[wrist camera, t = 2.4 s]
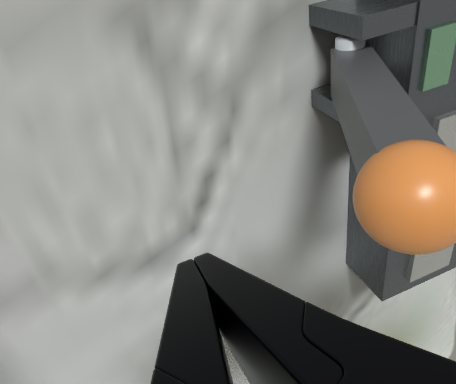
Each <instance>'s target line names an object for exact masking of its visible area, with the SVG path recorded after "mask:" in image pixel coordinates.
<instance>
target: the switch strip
mask: <svg viewBox="0 0 456 384" xmlns="http://www.w3.org/2000/svg"><path fill="white" fill-rule="evenodd" d="M309 17H310V26H314V27H317V28H320V29H324V30H327V31H331V32H334V33H337V34H341V35H344V36H348V37H351V38H354V39H358V40H361V41H363V40H366V43H365V44H370V45H371V46H372V48H373V49H374V50H375V52H376V53H377V54H378V56H379V57H380V58H381V60H382V61H383V62H384V64H385V65H386V66H387V68H388V69H389V70H390V72H391V73H392V74H393V76H394V77H395V78H396V80H397V81H398V82H399V84H400V85H401V86H402V88H403V89H404V90H405V92H406V93H407V94H408V96H409V97H410V98H411V100H412V101H413V102H414V104H415V105H416V106H417V108H418V109H419V110H420V112H421V113H422V114H423V115H424V117H425V118H426V119H427V121H428V122H429V123H430V125H431V126H432V127H433V129H434V130H435V131H436V133H437V134H438V135H439V137H440V138H441V139H442V141H443V142H444V143H445V145H446V146H447V147H449V148H451V149H452V150H454V151H455V152H456V0H327V1H323V2H319V3H315V4H311V5H309ZM311 91H312V106H313V107H315V108H317V109H318V110H320V111H321V112H323V113H325V114H326V115H328V116H330V117H331V118H333V119H335V120H336V121H338V122H339V119H338V116H337V113H336V110H335V107H334V104H333V101H332V98H331V84H329V85H325V86H322V87H319V88H316V89H313V90H311ZM356 177H357V173H356V170H355V167H354V164H353V161H352V158H351V155H350V178H349V204H348V230H347V256H346V263H347V264H348V265H349V266H350V268H351V269H352V270H353V271H354V272H355V273H356V274H357V275H358V276H359V277H360V278H361V279H362V280H363V281H364V283H365V284H366V285H367V286H368V287H369V288H370V289H371V290H372V291H373V292H374V293H375V294H376V295H377V297H378V298H379V299H380V300H381V301H384V300H386V299H388V298H390V297H393V296H395V295H397V294H399V293H401V292H403V291H406V290H408V289H410V288H412V287H414V286H416V285H418V284H421V283H423V282H425V281H427V280H429V279H431V278H434V277H436V276H438V275H440V274H442V273H444V272H447V271H449V270H451V269H453V268H455V267H456V243H455V244H454V245H452V246H450V247H448V248H446V249H444V250H441V251H438V252H435V253H430V254H423V255H411V254H404V253H399V252H396V251H393V250H391V249H388V248H386V247H384V246H382V245H381V244H379V243H378V242H376V241H375V240H374V239H372V238H371V237H370V236H369V235H368V234H367V233H366V232H365V230H364V229H363V227H362V226H361V224H360V223H359V221H358V219H357V216H356V214H355V211H354V206H353V187H354V184H355V180H356Z"/></svg>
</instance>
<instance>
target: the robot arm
mask: <svg viewBox="0 0 456 384" xmlns="http://www.w3.org/2000/svg"><path fill="white" fill-rule="evenodd" d="M220 332H221V334H222V336H223V338H224V340H225V342H226V343H227V345H228V347H229V348H230V350H231V352H232V354H233V355H234V357H235V359H236V360H237V362H238V364H239V366H240V367H241V369H242V371H243V372H244V374H245V376H246V377H247V379H248V381H249V383H250V384H456V362H455V361H452V360H450V359H447V358H445V357H442V356H439V355H437V354H434V353H431V352H429V351H426V350H423V349H421V348H418V347H415V346H413V345H410V344H407V343H405V342H402V341H399V340H397V339H394V338H391V337H389V336H386V335H383V334H381V333H378V332H375V331H373V330H370V329H367V328H365V327H362V326H360V325H357V324H355V323H352V322H350V321H347V320H345V319H342V318H340V317H338V316H336V315H333V314H331V313H329V312H327V311H325V310H323V309H321V308H318V307H317V306H315V305H313V304H311V303H309V302H306V303H305V301H303V300H301V299H299V298H297V297H295V296H294V295H292V294H290V293H288V292H286V291H284V290H282V289H280V288H278V287H276V286H274V285H272V284H270V283H268V282H266V281H264V280H262V279H260V278H258V277H256V276H254V275H252V274H250V273H248V272H246V271H244V270H242V269H240V268H238V267H236V266H234V265H232V264H230V263H228V262H226V261H224V260H222V259H220V258H218V257H216V256H214V255H212V254H210V253H205V254H202V255H200V256H197V257H195V258H194V260H192V259H189V260H187V261H184V262H182V263H179V264H178V265H177V269H176V273H175V278H174V282H173V287H172V291H171V296H170V300H169V305H168V309H167V314H166V318H165V323H164V327H163V332H162V337H161V341H160V346H159V350H158V355H157V359H156V364H155V369H154V371H153V375H152V380H151V384H233V380H232V376H231V372H230V368H229V364H228V360H227V356H226V353H225V349H224V345H223V341H222V337H221V334H220Z"/></svg>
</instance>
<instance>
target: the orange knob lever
mask: <svg viewBox="0 0 456 384" xmlns="http://www.w3.org/2000/svg"><path fill="white" fill-rule="evenodd" d="M365 43H366V40H363V41H361V40H358V39H354V38H351V37H348V36H344V35H340V36H338V37H336V38H335V48H332V49H331V98H332V101H333V104H334V107H335V110H336V113H337V116H338V119H339V122H340V125H341V128H342V131H343V134H344V137H345V140H346V143H347V146H348V149H349V152H350V155H351V158H352V161H353V164H354V167H355V170H356V173H357V177H356V180H355V184H354V187H353V206H354V211H355V214H356V216H357V219H358V221H359V223H360V224H361V226H362V227H363V229H364V230H365V232H366V233H367V234H368V235H369V236H370V237H371V238H372V239H374V240H375V241H376V242H378V243H379V244H381V245H382V246H384V247H386V248H388V249H391V250H393V251H396V252H399V253H404V254H411V255H423V254H430V253H435V252H438V251H441V250H444V249H446V248H448V247H450V246H452V245H454V244H455V243H456V152H455V151H454V150H452V149H451V148H449V147H447V146H446V145H445V143H444V142H443V141H442V139H441V138H440V137H439V135H438V134H437V133H436V131H435V130H434V129H433V127H432V126H431V125H430V123H429V122H428V121H427V119H426V118H425V117H424V115H423V114H422V113H421V112H420V110H419V109H418V108H417V106H416V105H415V104H414V102H413V101H412V100H411V98H410V97H409V96H408V94H407V93H406V92H405V90H404V89H403V88H402V86H401V85H400V84H399V82H398V81H397V80H396V78H395V77H394V76H393V74H392V73H391V72H390V70H389V69H388V68H387V66H386V65H385V64H384V62H383V61H382V60H381V58H380V57H379V56H378V54H377V53H376V52H375V50H374V49H373V48H372V46H371V45H370V44H365Z"/></svg>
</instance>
